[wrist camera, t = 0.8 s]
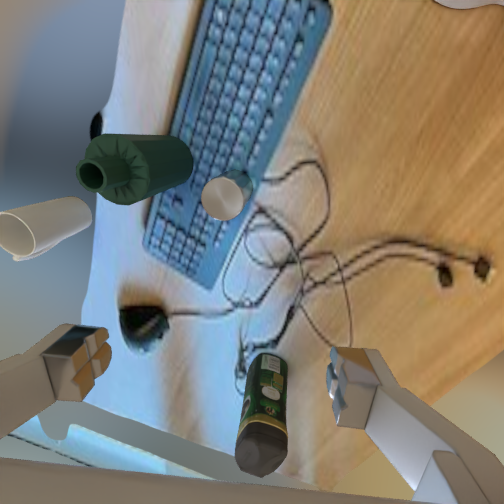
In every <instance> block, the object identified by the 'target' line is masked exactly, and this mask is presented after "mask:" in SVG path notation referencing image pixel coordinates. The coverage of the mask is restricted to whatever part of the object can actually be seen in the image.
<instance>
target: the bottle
mask: <svg viewBox="0 0 504 504" xmlns="http://www.w3.org/2000/svg"><path fill="white" fill-rule="evenodd" d="M192 169H193V159H192V155H191V152H190V150H189V148H188V147H187V146H186V144H185V143H184V142H183V141H181V140H180V139H178V138H176V137H174V136H168V135H135V134H102V135H100V136H98V137H96V138H94V139H93V140H92V141H91V143H90V144H89V146H88V147H87V149H86V153H85V159H84V160H81V161H80V162H79V163H78V165H77V166H76V176H77V178H78V180H79V182H80V184H81V185H82V186H83V187H84V188H85V189H87V190H88V191H91V192H94V193H97V192H98V193H99V194H100V195H101V196H103V197H104V198H105V199H107V200H109V201H111V202H113V203H115V204H118V205H131V204H134V203H136V202H139V201H141V200H144V199H146V198H148V197H151V196H153V195H156V194H158V193H160V192H163V191H165V190H168V189H170V188H172V187H175V186H177V185H180V184H182V183H184V182H185V181H186V180H187V179H188V178H189V177H190V175H191V173H192Z"/></svg>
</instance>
